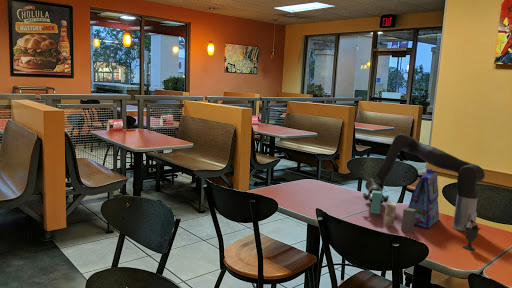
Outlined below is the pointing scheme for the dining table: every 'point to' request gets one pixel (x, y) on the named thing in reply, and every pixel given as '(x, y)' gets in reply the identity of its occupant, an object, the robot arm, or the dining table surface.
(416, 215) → the lunch bag
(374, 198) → the teal block
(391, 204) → the tan block
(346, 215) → the dining table surface
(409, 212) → the charcoal block
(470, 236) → the sundae
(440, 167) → the robot arm
